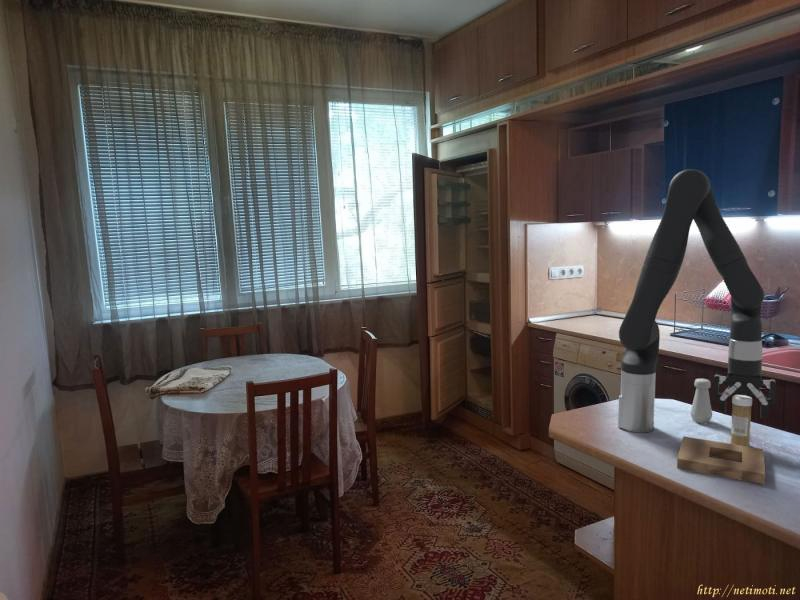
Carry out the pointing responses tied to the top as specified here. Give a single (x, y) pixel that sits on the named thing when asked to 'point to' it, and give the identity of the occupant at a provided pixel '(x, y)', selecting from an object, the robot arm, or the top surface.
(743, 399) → the sprinkles bottle
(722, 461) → the holder board
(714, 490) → the top surface
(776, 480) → the top surface
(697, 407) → the salt shaker
